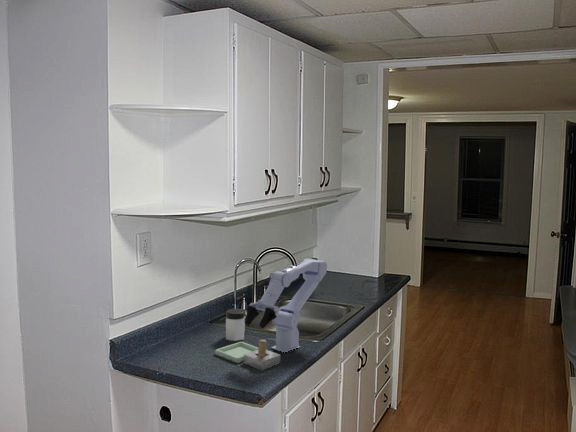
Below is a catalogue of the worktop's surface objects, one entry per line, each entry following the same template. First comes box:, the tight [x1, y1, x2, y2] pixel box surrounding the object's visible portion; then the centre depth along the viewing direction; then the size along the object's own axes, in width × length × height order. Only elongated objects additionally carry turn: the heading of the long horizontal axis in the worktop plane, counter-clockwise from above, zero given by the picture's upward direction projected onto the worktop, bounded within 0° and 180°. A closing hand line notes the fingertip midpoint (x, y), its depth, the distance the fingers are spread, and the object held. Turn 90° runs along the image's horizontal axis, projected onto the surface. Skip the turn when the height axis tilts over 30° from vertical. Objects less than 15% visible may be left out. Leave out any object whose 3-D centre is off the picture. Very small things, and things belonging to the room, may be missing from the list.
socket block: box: [243, 349, 281, 371], centre depth 216 cm, size 10×10×4 cm
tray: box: [214, 341, 258, 364], centre depth 225 cm, size 14×13×2 cm
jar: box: [225, 308, 246, 342], centre depth 244 cm, size 9×8×12 cm
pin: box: [257, 339, 267, 357], centre depth 216 cm, size 3×3×9 cm
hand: (253, 325), depth 214 cm, fingers open, 7 cm apart
